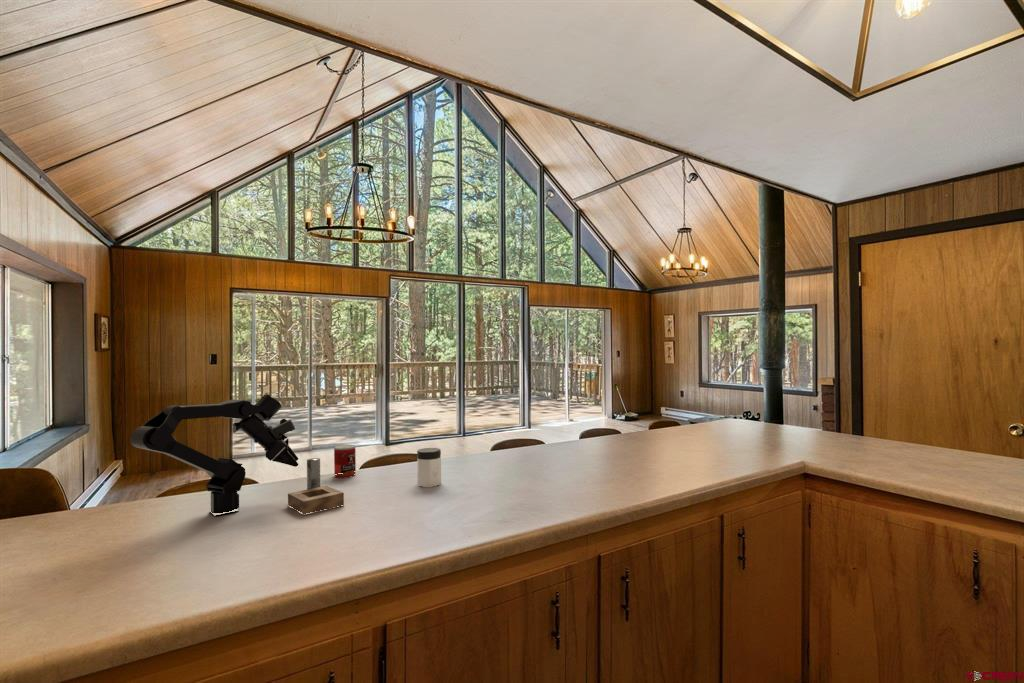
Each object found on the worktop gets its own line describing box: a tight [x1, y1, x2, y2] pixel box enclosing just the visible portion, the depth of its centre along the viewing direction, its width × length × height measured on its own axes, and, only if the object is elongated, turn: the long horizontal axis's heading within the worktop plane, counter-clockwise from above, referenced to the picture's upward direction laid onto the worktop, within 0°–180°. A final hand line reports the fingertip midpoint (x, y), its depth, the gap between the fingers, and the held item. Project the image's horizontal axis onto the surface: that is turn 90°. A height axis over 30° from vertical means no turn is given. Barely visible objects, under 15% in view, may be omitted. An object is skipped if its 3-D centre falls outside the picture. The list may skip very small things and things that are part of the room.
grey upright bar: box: [306, 457, 321, 490], centre depth 161 cm, size 4×4×12 cm
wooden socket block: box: [287, 485, 345, 514], centre depth 151 cm, size 12×12×4 cm
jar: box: [416, 447, 442, 488], centre depth 174 cm, size 9×8×12 cm
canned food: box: [333, 444, 357, 479], centre depth 189 cm, size 8×8×11 cm
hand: (297, 462), depth 160 cm, fingers open, 9 cm apart
